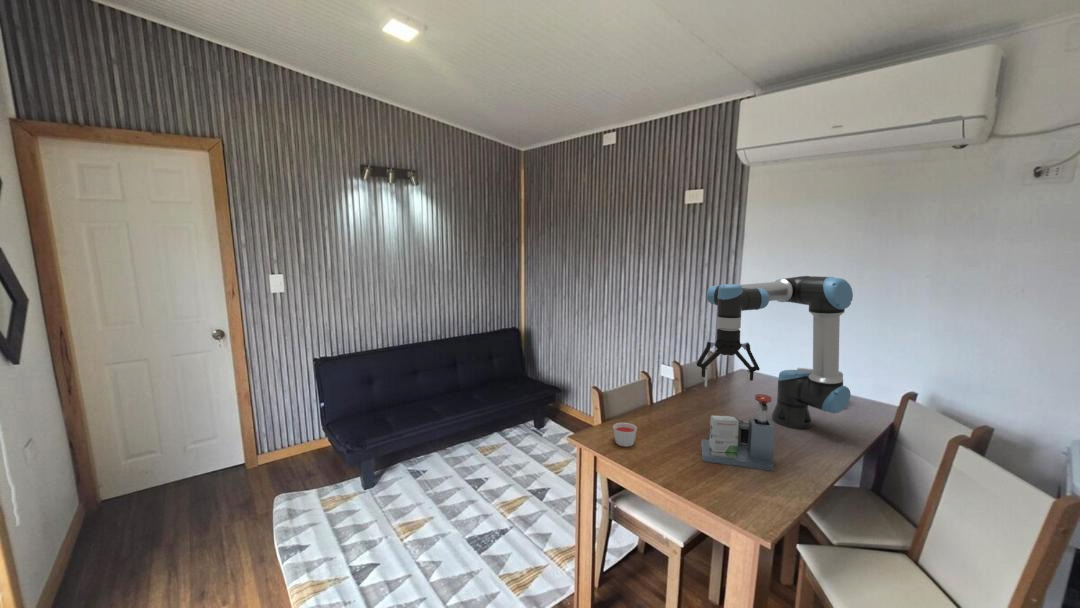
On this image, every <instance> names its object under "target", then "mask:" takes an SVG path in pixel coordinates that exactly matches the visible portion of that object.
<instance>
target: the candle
mask: <svg viewBox="0 0 1080 608" xmlns="http://www.w3.org/2000/svg"><path fill="white" fill-rule="evenodd" d="M612 428H613V433H614V434H613V436H614V439H615V440H614V441H615V443H616V445H618V446H621V447H628V448H629V447H632V446H633V445H634V444H635V440H636V435H637V430H638V427H637V425H635V424H633V423H630V422H616V423H614V425H612Z"/></svg>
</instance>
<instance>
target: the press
mask: <svg viewBox="0 0 1080 608" xmlns="http://www.w3.org/2000/svg"><path fill="white" fill-rule="evenodd" d="M748 422H749V431H748V445H745V444H739V443H738V451H737V453H732V452H713V451H712V449H711V448H710V446H709V440H710V439H705V438H703V439H702V438H701V443H700V444H701V458H702V459H701V460H702V462H704V463H705V462H706V463H713V464H719V465H720V464H721V465H727V466H735V467H741V468H749V469H754V470H761V471H767V472H768V471H769V472H773V471H774V463H773V461H774V449H775V433H776V431H775V430H776V427H775V425H774V423H773V422H774V421H773V420H772V419H768V418H767V419H766V425H762V424H757V417H748Z"/></svg>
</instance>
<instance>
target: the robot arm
mask: <svg viewBox="0 0 1080 608" xmlns="http://www.w3.org/2000/svg"><path fill="white" fill-rule="evenodd" d="M853 297H854V293H853V288H852V286H851V284H850V283H849V282H848V280H846V279H845V278H841V277H834V276H813V275H811V276H810V275H802V276H801V275H800V276H794V277H786V278H779V279H775V281H772V282H771V281H769V282H760V283H758V282H757V283H746V284H739V283H738V284H735V283H734V284H733V283H728V284H727V283H725V284H724V283H723V284H720V285H719V284H718V285H712V286H710V287H709V288H708V289H707V292H706V299H707V302H708V303H710V304H711V305H715V306H717V318H716V319H717V320H716V327H717V329H716V339H715V340H716V341H715V342H714V341H711V340H707V342H706V344H705V345H706V347H705V348H704V350H703V351H702V353H701V354H700V356H699V358H698V359H697V361H696V366H697V367H699V368H701V377H702V378H704V388H708V366H709V365H710V364H711V363H712V362H713V361H714V360H715V359H717V358H718V357H719V356H720V355H722V356H734V355H735V356H736V357H737V358H738V359H739V360H740V362H742V364H743V365H744V366H745V367H746V368H747V369H746V373H745V374H746V376H745V377H746V378H745V380H746V381H745V390H746V391H750V385H751V384H750V381H754V373H755V372H756V371H760V369H761V368H760V366H759V365H758V362H757V360H756V358H755V356H754V355H753V353H752V351H751V344H750V343H749V342H744V343H741V330H740V329H741V326H742V323H741V322H742V321H741V320H742V312H743V311H754V310H756V311H757V310H761V309H765V308H766V307H767V306H768V305H769V303H770V302H773V301H774V302H775V301H776V302H778V303H792V304H793V303H794V304H797V305H798V304H799V305H806V306H808V312H809V313H810V314H811V315H812V316H813V317H812V319H813V320H812V329H813V330H812V369H813V373H812V374H810V372H808V371H803V370H797V369H786V370H785V369H784V370H781V371H780V372H779V373H778V379H777V397H776V398H777V400H776V404H775V405H774V408H773V410H772V412H771V420H772V422H774V423H775V424H777V425H779V426H782V427H784V428H788V429H789V428H790V429H795V430H796V429H797V430H807V429H809V428H811V427H812V425H813V422H812V421H813V420H812V417H811V414H810V410H809V407H812V408H814V409H818V410H819V411H820V410H821V411H822V412H825V413H826V412H827V413H830V414H839V413H841V412H842V411H844V409H845V408H846V407H847V406H848V405H849V403H850V399H851V395H852V394H851V390H850V388H849V387H848V386H846V385H844V377H843V378H842V377H841V376H839V371H840V368H839V367H840V366H839V365H840V364H839V363H840V321H841V320H840V318H841V317H840V316H842V315H843V314H844V313H845V309H848V308H849V307H850V305H852V301H853ZM713 347H715V348H716V350H714V352H713V353H712V354H711V355H710V356H709V357H708V358H707V359H706V360H705V358H706V357H707V355H708V353H709V351H710V350H711V349H712V348H713ZM741 348H743V350H745V351H746V353H747V354H748V357H749V359H750V361H751V363H752V365H753V366H752V365H751V364H750V363H749V362H748V361H747V360H746V358H744V356H743V355H742V354H741V352H740V349H741ZM704 360H705V361H704ZM703 361H704V362H703Z"/></svg>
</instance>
